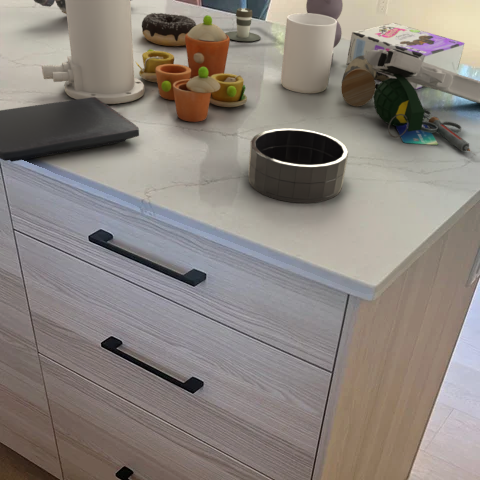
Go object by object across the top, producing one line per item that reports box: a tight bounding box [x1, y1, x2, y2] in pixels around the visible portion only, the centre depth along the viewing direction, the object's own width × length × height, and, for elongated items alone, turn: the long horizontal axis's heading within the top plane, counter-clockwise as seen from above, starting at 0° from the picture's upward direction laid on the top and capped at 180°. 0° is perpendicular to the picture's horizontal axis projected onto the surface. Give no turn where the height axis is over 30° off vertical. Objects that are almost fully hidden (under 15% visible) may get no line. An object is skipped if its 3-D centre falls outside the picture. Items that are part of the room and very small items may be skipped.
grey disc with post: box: [224, 7, 262, 43], centre depth 130 cm, size 12×12×5 cm
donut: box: [141, 12, 197, 47], centre depth 125 cm, size 11×12×4 cm
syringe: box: [421, 108, 476, 156], centre depth 97 cm, size 8×18×2 cm, turn 18°
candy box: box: [346, 22, 466, 90], centre depth 119 cm, size 14×6×16 cm
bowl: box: [247, 128, 349, 204], centre depth 80 cm, size 12×12×4 cm
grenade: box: [373, 74, 425, 139], centre depth 97 cm, size 6×7×12 cm
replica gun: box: [364, 49, 480, 104], centre depth 103 cm, size 29×16×3 cm, turn 97°
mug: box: [340, 56, 390, 107], centre depth 107 cm, size 8×6×12 cm
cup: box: [280, 12, 338, 94], centre depth 108 cm, size 8×12×10 cm
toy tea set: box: [135, 14, 248, 123], centre depth 100 cm, size 26×16×10 cm, turn 20°
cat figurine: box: [305, 0, 344, 64], centre depth 118 cm, size 8×8×12 cm
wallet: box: [0, 97, 140, 163], centre depth 87 cm, size 20×2×15 cm
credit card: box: [395, 123, 439, 146], centre depth 97 cm, size 8×5×1 cm, turn 0°
